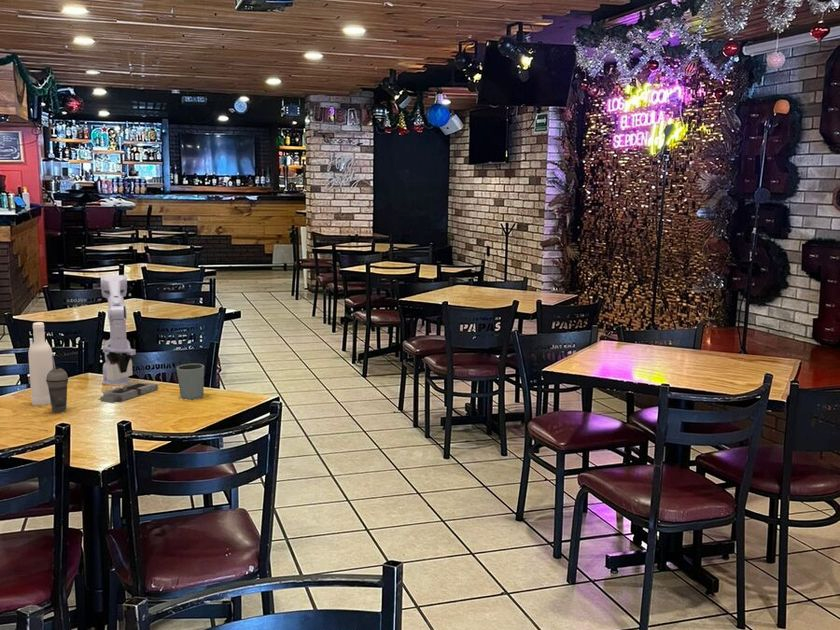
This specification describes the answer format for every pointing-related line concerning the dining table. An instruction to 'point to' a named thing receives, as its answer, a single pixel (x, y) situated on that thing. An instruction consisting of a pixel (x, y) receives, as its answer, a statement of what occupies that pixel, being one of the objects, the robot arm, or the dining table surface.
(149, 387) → the chain end
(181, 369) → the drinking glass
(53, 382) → the beverage cup
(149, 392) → the mat
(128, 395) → the chain end
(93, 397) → the dining table surface
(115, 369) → the master link
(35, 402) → the bottle
